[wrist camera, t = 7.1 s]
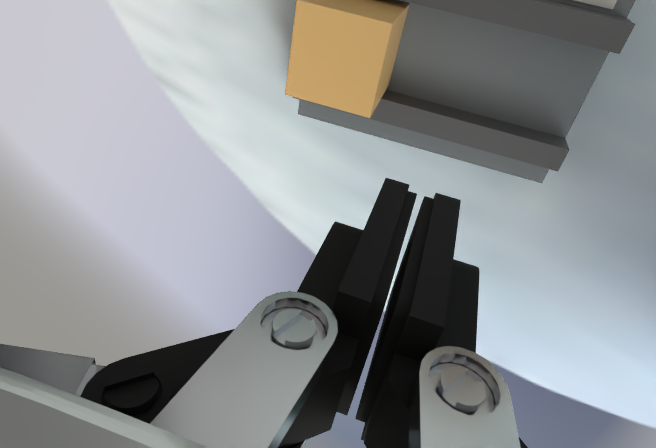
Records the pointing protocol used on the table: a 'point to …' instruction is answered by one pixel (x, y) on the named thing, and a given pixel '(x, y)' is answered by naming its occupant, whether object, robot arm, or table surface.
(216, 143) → the table surface
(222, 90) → the table surface
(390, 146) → the table surface
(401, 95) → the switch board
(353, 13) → the tan orange cube block
